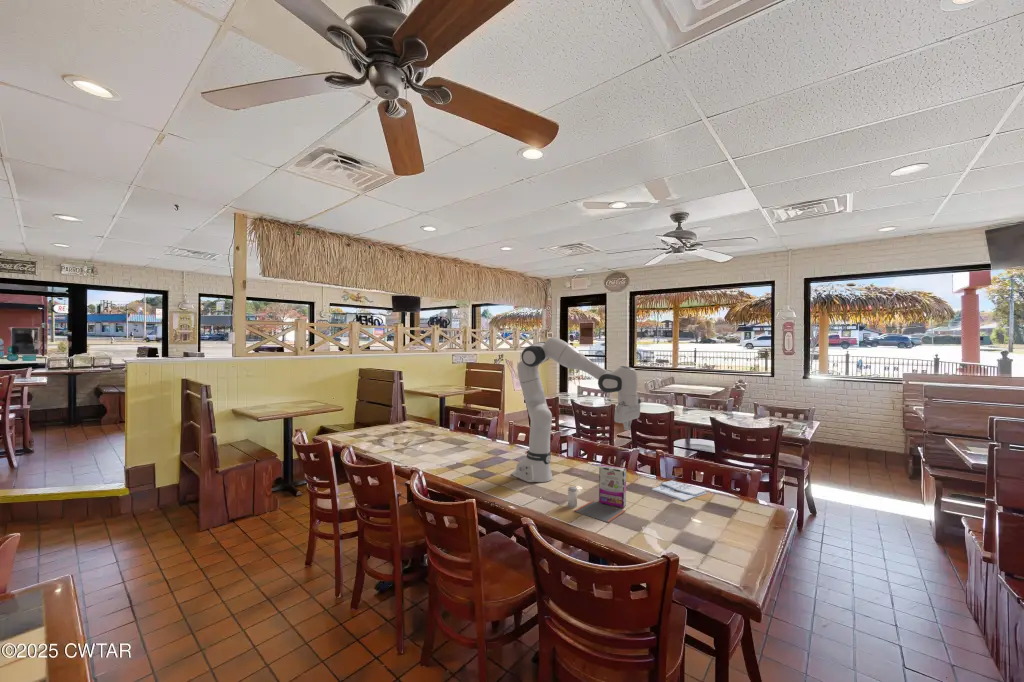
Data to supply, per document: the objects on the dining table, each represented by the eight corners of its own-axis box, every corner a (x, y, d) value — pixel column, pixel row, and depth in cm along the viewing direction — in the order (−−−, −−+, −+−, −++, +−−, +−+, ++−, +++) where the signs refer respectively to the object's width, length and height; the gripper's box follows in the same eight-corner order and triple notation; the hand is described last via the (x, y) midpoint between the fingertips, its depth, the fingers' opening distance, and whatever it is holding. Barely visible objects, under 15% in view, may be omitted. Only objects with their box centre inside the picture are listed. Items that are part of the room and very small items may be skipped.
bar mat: (574, 511, 173) (574, 510, 173) (592, 501, 184) (592, 500, 184) (608, 523, 162) (608, 521, 162) (625, 511, 173) (625, 510, 173)
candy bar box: (626, 504, 181) (626, 468, 181) (623, 508, 176) (624, 471, 176) (601, 499, 186) (602, 464, 186) (598, 503, 182) (599, 466, 182)
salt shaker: (565, 505, 178) (566, 488, 178) (570, 503, 181) (571, 485, 181) (573, 508, 176) (573, 490, 176) (578, 505, 179) (578, 488, 179)
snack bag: (707, 494, 196) (707, 490, 196) (683, 503, 185) (683, 498, 185) (672, 482, 212) (672, 478, 212) (648, 490, 201) (648, 486, 201)
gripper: (623, 403, 182) (623, 434, 182) (642, 399, 197) (642, 427, 197) (611, 402, 186) (610, 432, 186) (630, 398, 201) (630, 425, 201)
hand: (627, 429), depth 192 cm, fingers closed
